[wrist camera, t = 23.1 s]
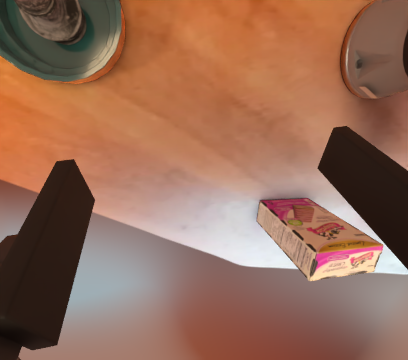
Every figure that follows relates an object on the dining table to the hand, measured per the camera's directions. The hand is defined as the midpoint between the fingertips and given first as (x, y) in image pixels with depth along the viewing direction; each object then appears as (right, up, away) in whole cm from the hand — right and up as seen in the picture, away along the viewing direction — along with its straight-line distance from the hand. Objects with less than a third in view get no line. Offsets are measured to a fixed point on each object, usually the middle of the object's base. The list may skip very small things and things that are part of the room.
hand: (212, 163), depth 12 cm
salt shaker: (-17, +18, +15) cm, 29 cm away
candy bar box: (+15, -7, +34) cm, 38 cm away
